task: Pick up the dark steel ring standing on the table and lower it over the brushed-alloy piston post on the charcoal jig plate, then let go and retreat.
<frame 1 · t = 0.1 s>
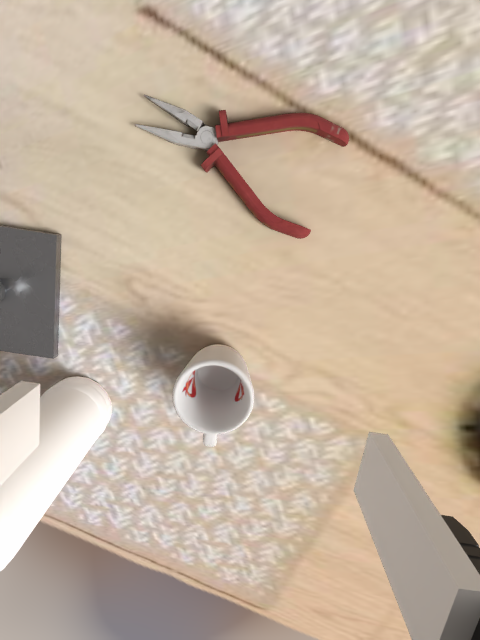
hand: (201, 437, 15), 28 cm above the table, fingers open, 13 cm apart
cup: (218, 378, 45), on the table
pliers: (252, 143, 39), on the table
bottle: (81, 404, 46), on the table
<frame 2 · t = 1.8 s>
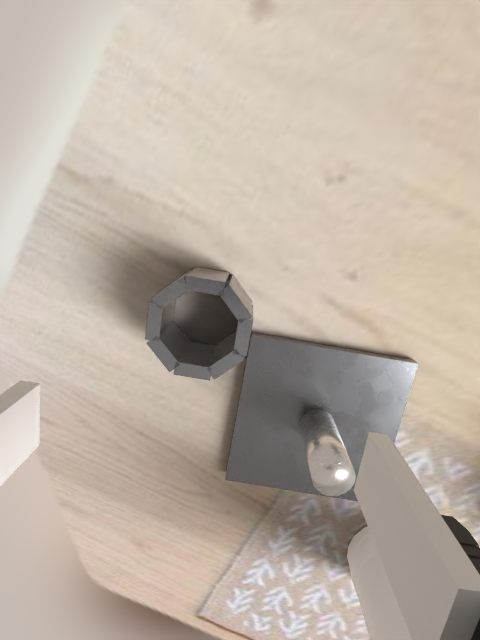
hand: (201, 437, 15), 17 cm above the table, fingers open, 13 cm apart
piston jig: (315, 418, 34), on the table
ring: (206, 313, 32), on the table
bottle: (385, 549, 38), on the table
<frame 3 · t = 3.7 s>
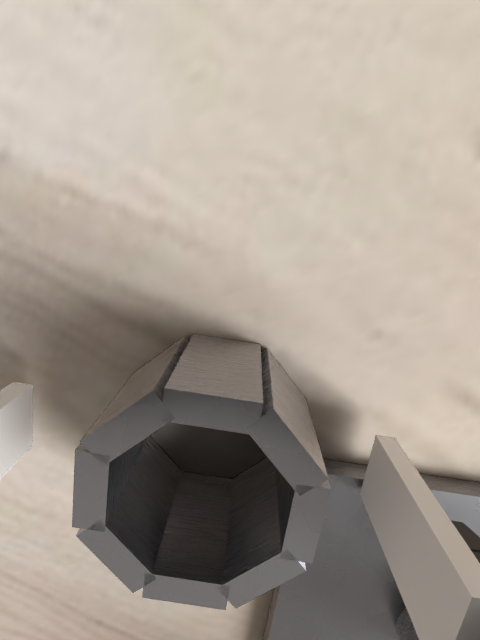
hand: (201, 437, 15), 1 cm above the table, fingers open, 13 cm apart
piston jig: (420, 603, 18), on the table
ring: (214, 421, 16), on the table
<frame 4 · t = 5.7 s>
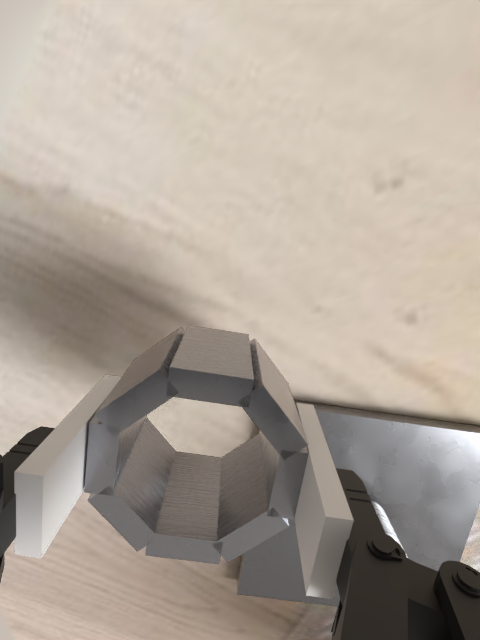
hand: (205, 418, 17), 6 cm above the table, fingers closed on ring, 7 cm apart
piston jig: (357, 508, 25), on the table
ring: (206, 404, 18), point 5 cm above the table, touching gripper
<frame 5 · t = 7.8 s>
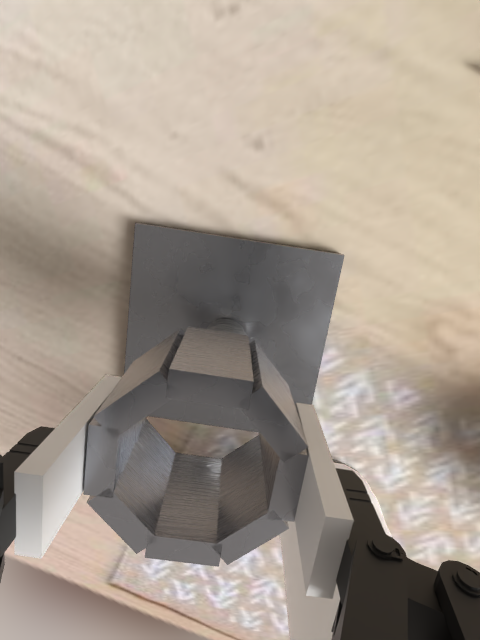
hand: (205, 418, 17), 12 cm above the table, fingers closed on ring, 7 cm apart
piston jig: (226, 334, 28), on the table
ring: (206, 405, 18), point 11 cm above the table, touching gripper
bottle: (323, 499, 31), on the table
when the fingers open (3 cm above the table, at t = 10.2 s): ring stays where it is, resting on piston jig.
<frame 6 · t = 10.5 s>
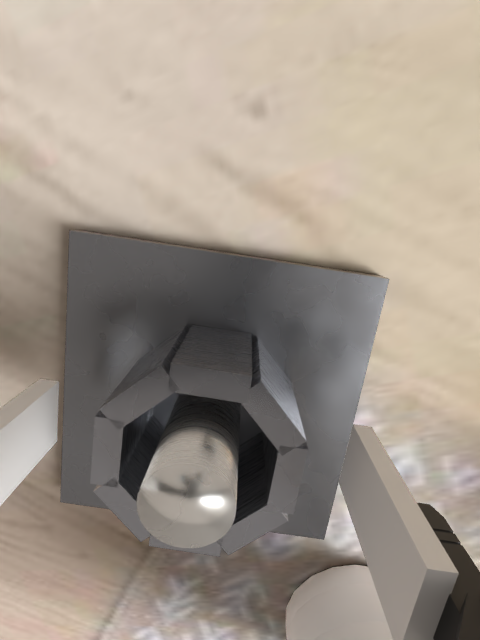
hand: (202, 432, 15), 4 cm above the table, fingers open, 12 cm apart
piston jig: (211, 391, 19), on the table
ring: (210, 401, 18), point 1 cm above the table, touching piston jig
bottle: (349, 611, 23), on the table
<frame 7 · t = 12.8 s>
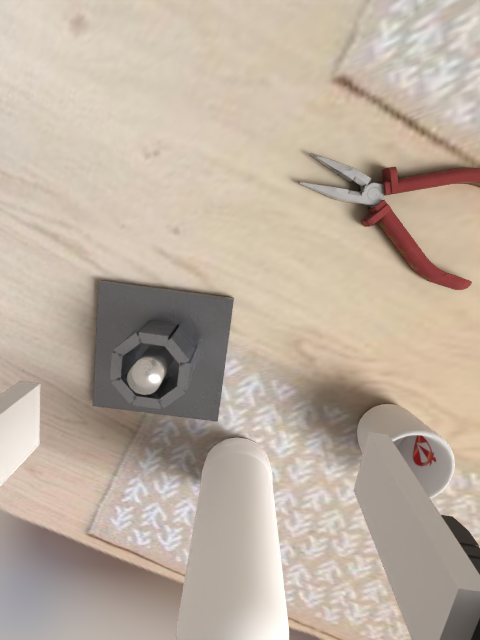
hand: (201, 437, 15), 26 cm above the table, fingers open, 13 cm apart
piston jig: (162, 351, 42), on the table
ring: (161, 354, 41), point 1 cm above the table, touching piston jig
cup: (380, 436, 44), on the table
pliers: (409, 196, 38), on the table
bottle: (237, 465, 45), on the table
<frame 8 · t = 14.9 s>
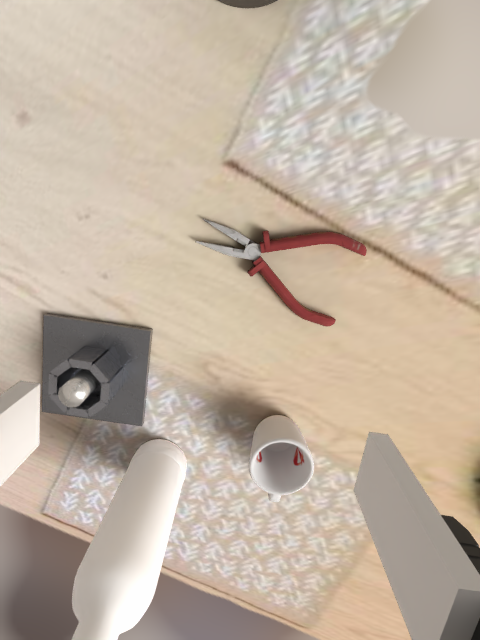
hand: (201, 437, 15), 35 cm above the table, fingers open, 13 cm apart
piston jig: (97, 369, 52), on the table
ring: (95, 372, 51), point 1 cm above the table, touching piston jig
cup: (275, 440, 54), on the table
pliers: (287, 251, 48), on the table
bottle: (161, 461, 55), on the table
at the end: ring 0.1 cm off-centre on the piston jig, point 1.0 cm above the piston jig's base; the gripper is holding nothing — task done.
